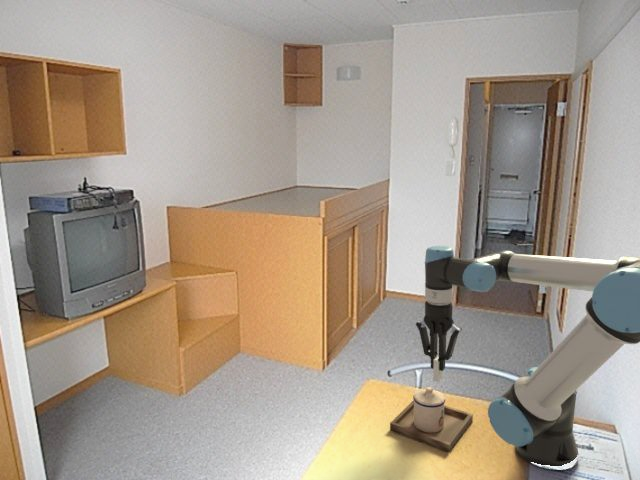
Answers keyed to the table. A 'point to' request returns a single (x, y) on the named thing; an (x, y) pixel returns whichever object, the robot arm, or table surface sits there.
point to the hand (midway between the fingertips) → (437, 379)
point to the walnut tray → (442, 440)
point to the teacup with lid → (429, 410)
